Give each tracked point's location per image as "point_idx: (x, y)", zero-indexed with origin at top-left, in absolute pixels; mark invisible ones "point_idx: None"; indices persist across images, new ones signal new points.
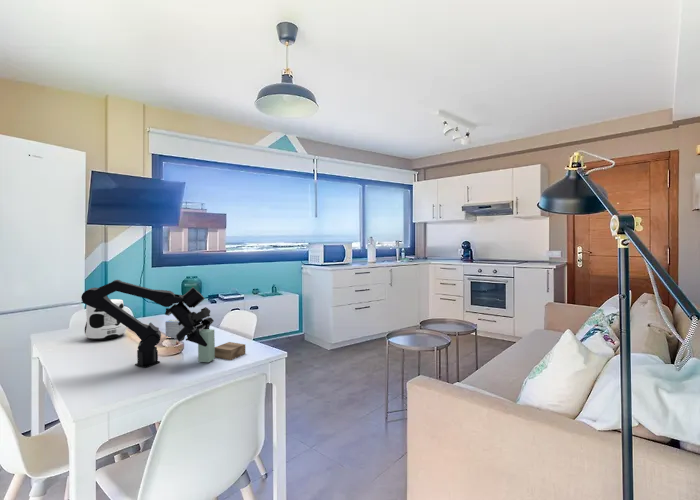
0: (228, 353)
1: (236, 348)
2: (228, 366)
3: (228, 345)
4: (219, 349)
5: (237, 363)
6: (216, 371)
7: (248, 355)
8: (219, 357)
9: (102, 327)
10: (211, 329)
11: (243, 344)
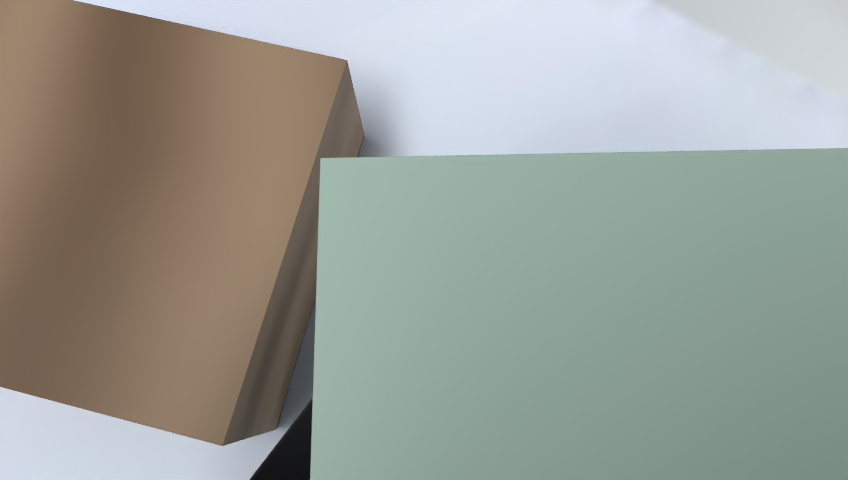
0: (341, 132)
1: (214, 37)
2: (580, 57)
3: (71, 226)
4: (275, 301)
5: (464, 10)
6: (761, 105)
7: (168, 13)
8: (308, 320)
9: None
10: (336, 390)
11: (7, 10)
